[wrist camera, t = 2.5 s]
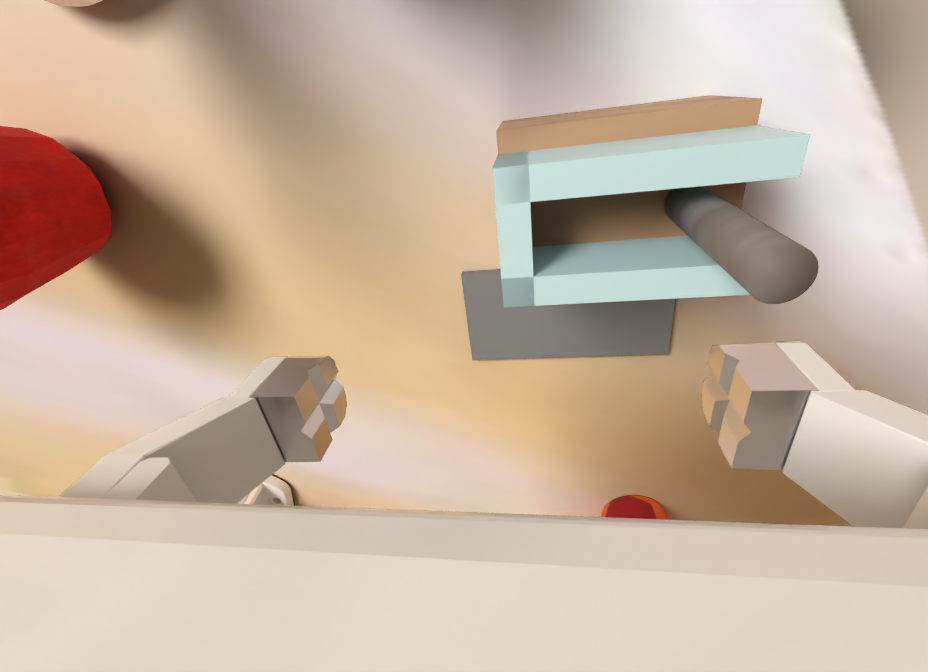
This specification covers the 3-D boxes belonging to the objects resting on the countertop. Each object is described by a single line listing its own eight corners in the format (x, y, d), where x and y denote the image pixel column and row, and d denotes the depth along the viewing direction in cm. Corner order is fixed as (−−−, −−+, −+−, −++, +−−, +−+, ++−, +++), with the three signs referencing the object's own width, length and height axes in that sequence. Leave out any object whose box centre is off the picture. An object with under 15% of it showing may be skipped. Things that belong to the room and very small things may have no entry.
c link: (507, 274, 23) (503, 307, 20) (498, 154, 20) (492, 168, 17) (730, 259, 21) (770, 293, 18) (757, 125, 18) (810, 134, 15)
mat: (666, 350, 31) (668, 354, 30) (473, 356, 33) (472, 360, 33) (678, 257, 27) (680, 260, 27) (462, 271, 30) (461, 274, 29)
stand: (689, 241, 27) (837, 385, 14) (511, 254, 29) (499, 391, 16) (709, 95, 23) (943, 109, 10) (502, 121, 25) (476, 160, 12)
